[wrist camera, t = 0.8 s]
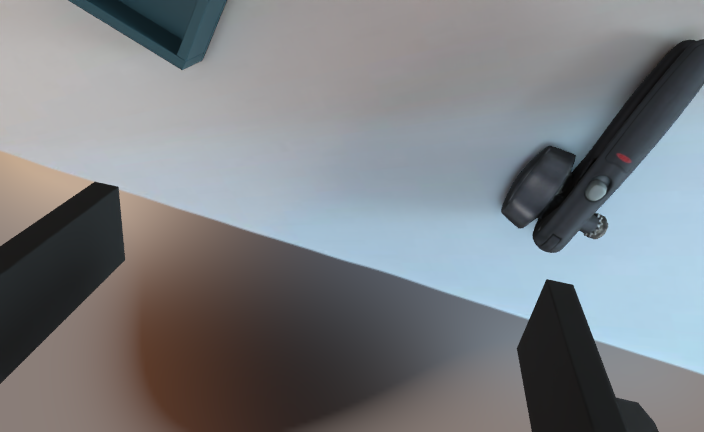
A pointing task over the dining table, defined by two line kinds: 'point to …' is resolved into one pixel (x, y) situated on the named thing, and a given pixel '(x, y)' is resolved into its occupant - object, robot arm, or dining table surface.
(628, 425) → the robot arm
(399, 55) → the dining table surface
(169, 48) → the tray
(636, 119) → the can opener
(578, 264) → the dining table surface
